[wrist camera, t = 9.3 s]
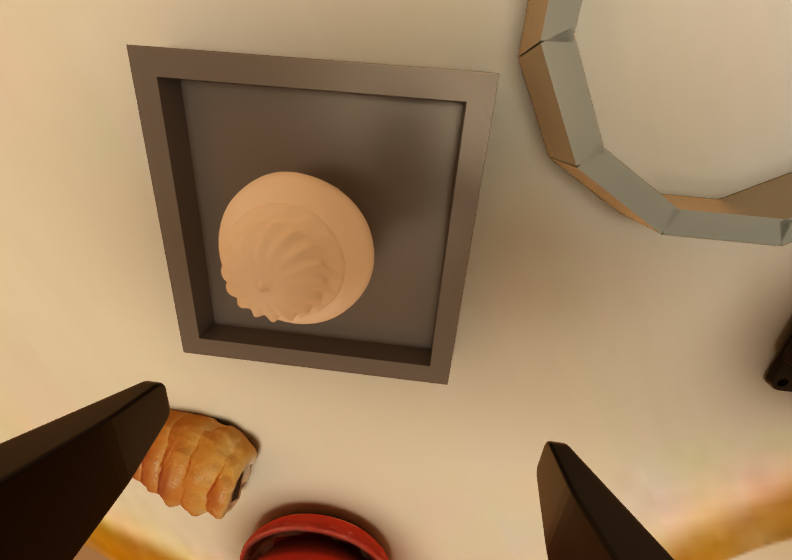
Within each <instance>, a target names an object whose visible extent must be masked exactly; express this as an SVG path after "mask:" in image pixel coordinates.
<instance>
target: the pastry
mask: <svg viewBox="0 0 792 560" xmlns="http://www.w3.org/2000/svg"><path fill="white" fill-rule="evenodd" d="M256 457H257V452H256V449H255V448H254V447H253V445H252V444H251V443H250V442H249V441H248V439H247V437H246V436H245V434H244V433H242V432H241V431H239V430H238V429H237V428H235V427H234V426H232V425H231V426H226V425H223V424H220V423H219V422H217V421H216V419H215V418H211V417H207V416H204V415H201V414H200V415H195V414H192V413H190V412H182V411H175V410H170V414H169V417H168V419H167V421H166V423H165V425H164V426H163V428H162V430H161V431H160V433H159V435H158V436H157V438H156V440H155V441H154V443H153V445H152V446H151V448H150V449H149V451H148V453H147V454H146V456H145V458H144V459H143V461H142V463H141V464H140V466H139V468H138V469H137V471H136V472H135V474H134V476H133V478H134V479H136V480H138V481H140V482H141V483H142V484H143V485H144V486H146V487H147V490H148V491H149V492H152V493H157V494H159V495H160V496H161V497H162V499H163V500H164V502H165V504H166V505H167V506H169V507H174V506H178V505H181V506H182V507H183V508H184V509H185V510H186V511H188V512H189V513H190V514H191V515H192V516H199V515H201V514H203V513H205V512H209V513H210V514H211V515H213V516H214V517H215V518H216V519H222V518H223V517H224V515H225V514H226V513H227V512H228V511H230V510H231V509H232V508H233V506H234V505H235V504H236V502H237V501H238V499H239V498H240V494H241V487H242V484H243V483H245V482H246V481H247V480H248V478H249V475H250V469H251V466H250V465H252V464H253V463H254V462H255V461H256Z"/></svg>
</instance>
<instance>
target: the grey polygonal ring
mask: <svg viewBox="0 0 792 560" xmlns="http://www.w3.org/2000/svg"><path fill="white" fill-rule="evenodd" d="M581 2H582V0H528V6H527V11H526V17H525V23H524V28H523V34H522V39H521V45H520V50H519V56H520V58H519V62H520V65H521V68H522V72H523V75H524V78H525V81H526V84H527V88H528V91H529V94H530V97H531V100H532V103H533V107H534V110H535V113H536V116H537V119H538V123H539V126H540V129H541V132H542V135H543V139H544V142H545V145H546V148H547V151H548V155H549V157H550V158H551V159H552V160H553V161H555V162H556V163H557V164H558V165H560V166H561V167H562V168H563V169H565V170H566V171H567V172H569V173H570V174H571V175H572V176H574V177H575V178H576V179H577V180H579V181H580V182H581V183H582V184H584V185H585V186H586V187H588V188H589V189H590V190H591V191H593V192H594V193H595V194H596V195H598V196H599V197H600V198H601V199H603V200H604V201H605V202H606V203H608V204H609V205H610V206H612V207H613V208H614V209H615V210H617V211H618V212H619V213H621V214H623V215H625V216H627V217H629V218H631V219H633V220H635V221H637V222H638V223H640V224H642V225H644V226H646V227H648V228H650V229H652V230H654V231H656V232H658V233H660V234H662V235H670V236H680V237H691V238H701V239H711V240H721V241H732V242H742V243H752V244H762V245H772V246H780V245H781V246H783V245H786V244H789V243H792V173H789V174H786V175H784V176H781V177H778V178H776V179H773V180H770V181H768V182H765V183H762V184H759V185H757V186H754V187H751V188H749V189H746V190H743V191H741V192H738V193H735V194H733V195H730V196H727V197H725V198H722V199H719V200H718V199H707V198H696V197H686V196H675V195H664V194H660V193H659V192H657V191H656V190H655V189H654V188H652V187H651V186H650V185H649V184H648V183H646V182H645V181H644V180H643V179H642V178H640V177H639V176H638V175H637V174H635V173H634V172H633V171H632V170H631V169H629V168H628V167H627V166H626V165H624V164H623V163H622V162H621V161H620V160H618V159H617V158H616V157H615V156H614V155H612V154H611V153H610V152H609V151H607V150H606V149H605V148H604V147H603V143H602V139H601V136H600V132H599V128H598V124H597V120H596V116H595V113H594V109H593V105H592V101H591V97H590V93H589V90H588V86H587V82H586V78H585V74H584V70H583V67H582V63H581V59H580V55H579V51H578V47H577V44H576V40H575V36H574V33H575V28H576V24H577V20H578V15H579V11H580V7H581Z"/></svg>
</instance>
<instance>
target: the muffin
mask: <svg viewBox="0 0 792 560" xmlns="http://www.w3.org/2000/svg"><path fill="white" fill-rule="evenodd" d="M219 254H220V259H221V263H222V267H221V274H222V277H223V279H224V280H225V281H226V282H227V283H226V290H227V292H228V293H229V294H230V295H231V296H233V297H236V298H237V303H238V306H239V307H241V308H248V309H251V311H252V313H253V316H254V317H260V316H263V315H266V317H267V318H268V319H269V320H270V321H271V322H275V321H277V320H281V321H284V322H289V323H295V324H313V323H319V322H324V321H327V320H330V319H332V318H334V317H336V316H338V315H340V314H341V313H343V312H344V311H346V310H347V309H348V308H350V307H351V306H352V305H353V304H354V303H355V302H356V301H357V300H358V299H359V298H360V296H361V295H362V294H363V292H364V291H365V289H366V287H367V285H368V283H369V281H370V278H371V275H372V272H373V267H374V245H373V239H372V235H371V232H370V229H369V226H368V224H367V221H366V219H365V218H364V216H363V214H362V213H361V211H360V210H359V208H358V207H357V206H356V205H355V204H354V202H353V201H352V200H351V199H350V198H349V197H347V196H346V195H345V194H344V193H343V192H341V191H340V190H339V189H338V188H336V187H334V186H333V185H331V184H329V183H327V182H325V181H323V180H321V179H318V178H315V177H313V176H309V175H306V174H302V173H297V172H275V173H270V174H267V175H264V176H261V177H260V178H258V179H256V180H254V181H252V182H251V183H249V184H248V185H246V186H245V187H244V188H243V189H242V190H240V191H239V192H238V193H237V194H236V195H235V197H234V198H233V199H232V200H231V201H230V203H229V204H228V206H227V208H226V210H225V212H224V215H223V218H222V221H221V225H220V230H219Z"/></svg>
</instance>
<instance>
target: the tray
mask: <svg viewBox="0 0 792 560" xmlns="http://www.w3.org/2000/svg"><path fill="white" fill-rule="evenodd" d="M127 51H128V56H129V61H130V67H131V72H132V77H133V83H134V88H135V93H136V99H137V104H138V110H139V115H140V120H141V126H142V131H143V136H144V142H145V147H146V152H147V158H148V163H149V169H150V174H151V179H152V185H153V190H154V195H155V201H156V206H157V211H158V217H159V222H160V228H161V233H162V238H163V244H164V249H165V254H166V260H167V265H168V270H169V276H170V281H171V287H172V292H173V297H174V303H175V308H176V313H177V319H178V324H179V330H180V335H181V340H182V346H183V351H184V352H186V353H194V354H202V355H210V356H218V357H226V358H235V359H243V360H251V361H259V362H267V363H275V364H283V365H291V366H300V367H308V368H316V369H324V370H332V371H340V372H348V373H356V374H364V375H373V376H381V377H389V378H397V379H405V380H413V381H421V382H429V383H438V384H446V385H447V384H448V378H449V372H450V366H451V360H452V354H453V348H454V342H455V336H456V330H457V324H458V318H459V312H460V306H461V300H462V294H463V288H464V282H465V276H466V270H467V264H468V258H469V252H470V246H471V240H472V234H473V228H474V222H475V216H476V210H477V204H478V198H479V191H480V185H481V179H482V173H483V167H484V161H485V155H486V149H487V143H488V137H489V131H490V125H491V119H492V113H493V107H494V101H495V95H496V89H497V83H498V77H499V73H491V72H478V71H465V70H452V69H439V68H426V67H413V66H400V65H386V64H373V63H360V62H347V61H334V60H321V59H308V58H295V57H282V56H269V55H255V54H242V53H229V52H216V51H203V50H190V49H177V48H164V47H151V46H138V45H127ZM275 172H297V173H302V174H306V175H309V176H313V177H315V178H318V179H321V180H323V181H325V182H327V183H329V184H331V185H333V186H334V187H336V188H338V189H339V190H340V191H341V192H343V193H344V194H345V195H346V196H347V197H349V198H350V199H351V200H352V201H353V202H354V204H355V205H356V206H357V207H358V208H359V210H360V211H361V213H362V214H363V216H364V218H365V219H366V221H367V224H368V226H369V229H370V232H371V235H372V239H373V245H374V267H373V272H372V275H371V278H370V281H369V283H368V285H367V287H366V289H365V291H364V292H363V294H362V295H361V296H360V298H359V299H358V300H357V301H356V302H355V303H354V304H353V305H352V306H351V307H350V308H348V309H347V310H346V311H344V312H343V313H341V314H340V315H338V316H336V317H334V318H332V319H330V320H327V321H324V322H319V323H313V324H295V323H289V322H284V321H281V320H277V321H275V322H271V321H270V320H269V319H268V318H267V317H266V315H263V316H260V317H254V316H253V313H252V311H251V309H248V308H241V307H239V306H238V303H237V298H236V297H233V296H231V295H230V294H229V293H228V292H227V290H226V283H227V282H226V281H225V280H224V279H223V277H222V274H221V267H222V263H221V259H220V254H219V230H220V225H221V221H222V218H223V215H224V212H225V210H226V208H227V206H228V204H229V203H230V201H231V200H232V199H233V198H234V197H235V195H236V194H237V193H238V192H239V191H240V190H242V189H243V188H244V187H245V186H246V185H248V184H249V183H251V182H252V181H254V180H256V179H258V178H260V177H261V176H264V175H267V174H270V173H275Z"/></svg>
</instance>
